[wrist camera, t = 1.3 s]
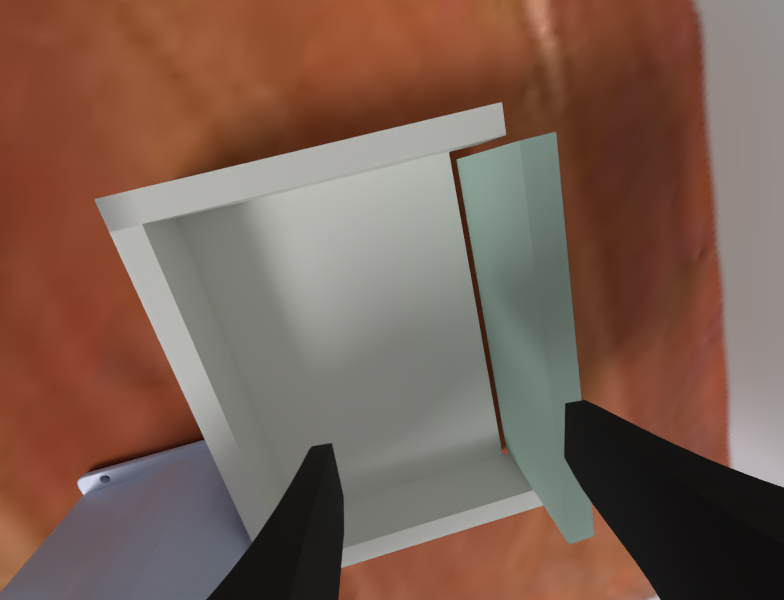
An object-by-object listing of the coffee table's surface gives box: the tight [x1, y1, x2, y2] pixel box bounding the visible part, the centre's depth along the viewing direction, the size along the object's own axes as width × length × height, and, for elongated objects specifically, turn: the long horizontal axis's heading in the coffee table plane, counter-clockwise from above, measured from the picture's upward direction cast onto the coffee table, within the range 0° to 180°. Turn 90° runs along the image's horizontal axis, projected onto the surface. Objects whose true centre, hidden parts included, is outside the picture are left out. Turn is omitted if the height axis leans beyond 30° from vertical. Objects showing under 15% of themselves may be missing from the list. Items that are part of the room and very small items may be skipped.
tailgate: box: [457, 132, 594, 544], centre depth 17 cm, size 1×17×6 cm, turn 13°
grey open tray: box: [94, 102, 543, 568], centre depth 19 cm, size 16×20×4 cm
